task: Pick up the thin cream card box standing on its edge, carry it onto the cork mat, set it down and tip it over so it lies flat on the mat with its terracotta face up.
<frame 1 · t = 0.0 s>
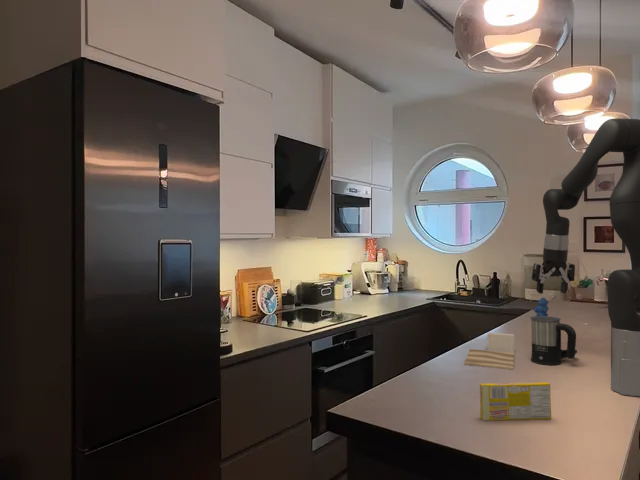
hand: (551, 293, 163), 22 cm above the counter, tool pointing down, fingers open, 8 cm apart
milk frother: (553, 361, 159), on the counter
grapes: (540, 322, 228), on the counter
mat: (490, 359, 161), on the counter
candy box: (515, 419, 110), on the counter
card box: (500, 351, 171), on the counter
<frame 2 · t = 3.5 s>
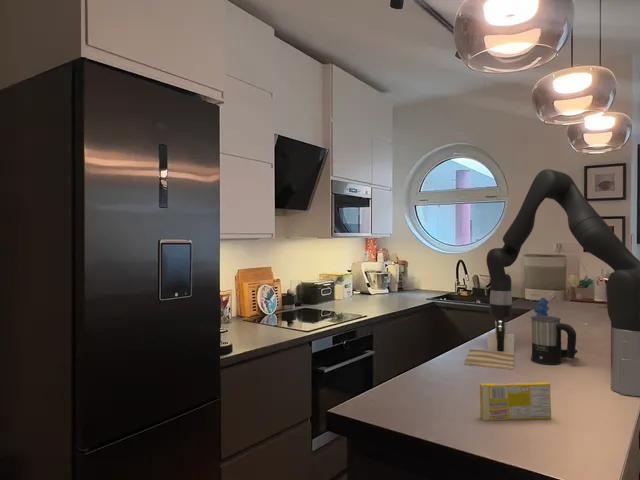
hand: (500, 349, 171), 1 cm above the counter, tool pointing down, fingers closed on card box, 2 cm apart
card box: (500, 351, 171), on the counter, touching gripper
when the fingers open (3 cm above the counter, at t = 7.6 s): card box stays where it is, resting on mat.
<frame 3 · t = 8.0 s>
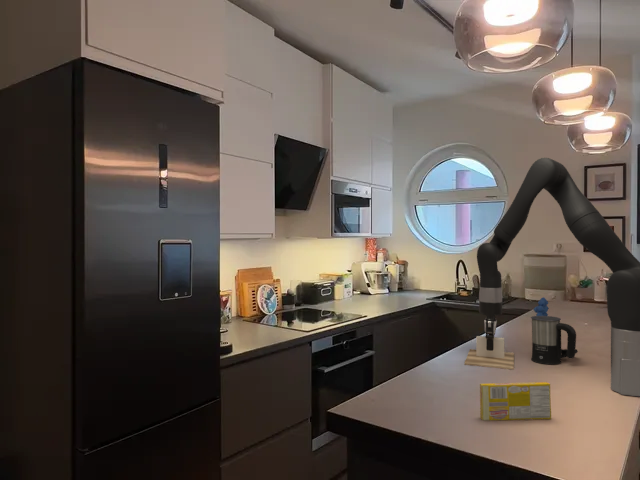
hand: (490, 347, 162), 4 cm above the counter, tool pointing down, fingers open, 6 cm apart
card box: (490, 356, 162), point 1 cm above the counter, touching mat
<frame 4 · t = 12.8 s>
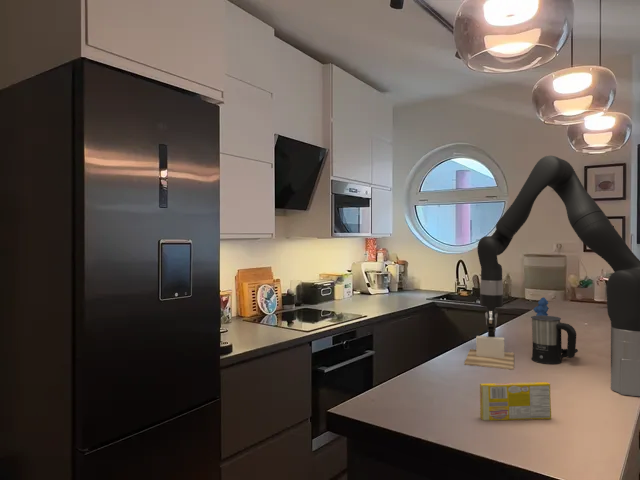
hand: (491, 341, 165), 5 cm above the counter, tool pointing down, fingers closed
card box: (490, 356, 162), point 1 cm above the counter, touching gripper, mat
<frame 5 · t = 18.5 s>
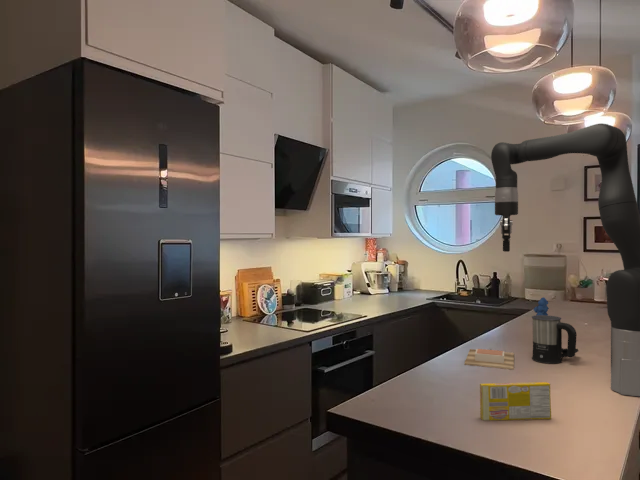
hand: (506, 251, 162), 37 cm above the counter, tool pointing down, fingers closed
card box: (490, 353, 161), point 2 cm above the counter, tilted 90°, touching mat
at the end: card box tilted 90°; card box inside the target area (0.7 cm from its centre), point 1.8 cm above the counter; the gripper is holding nothing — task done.
